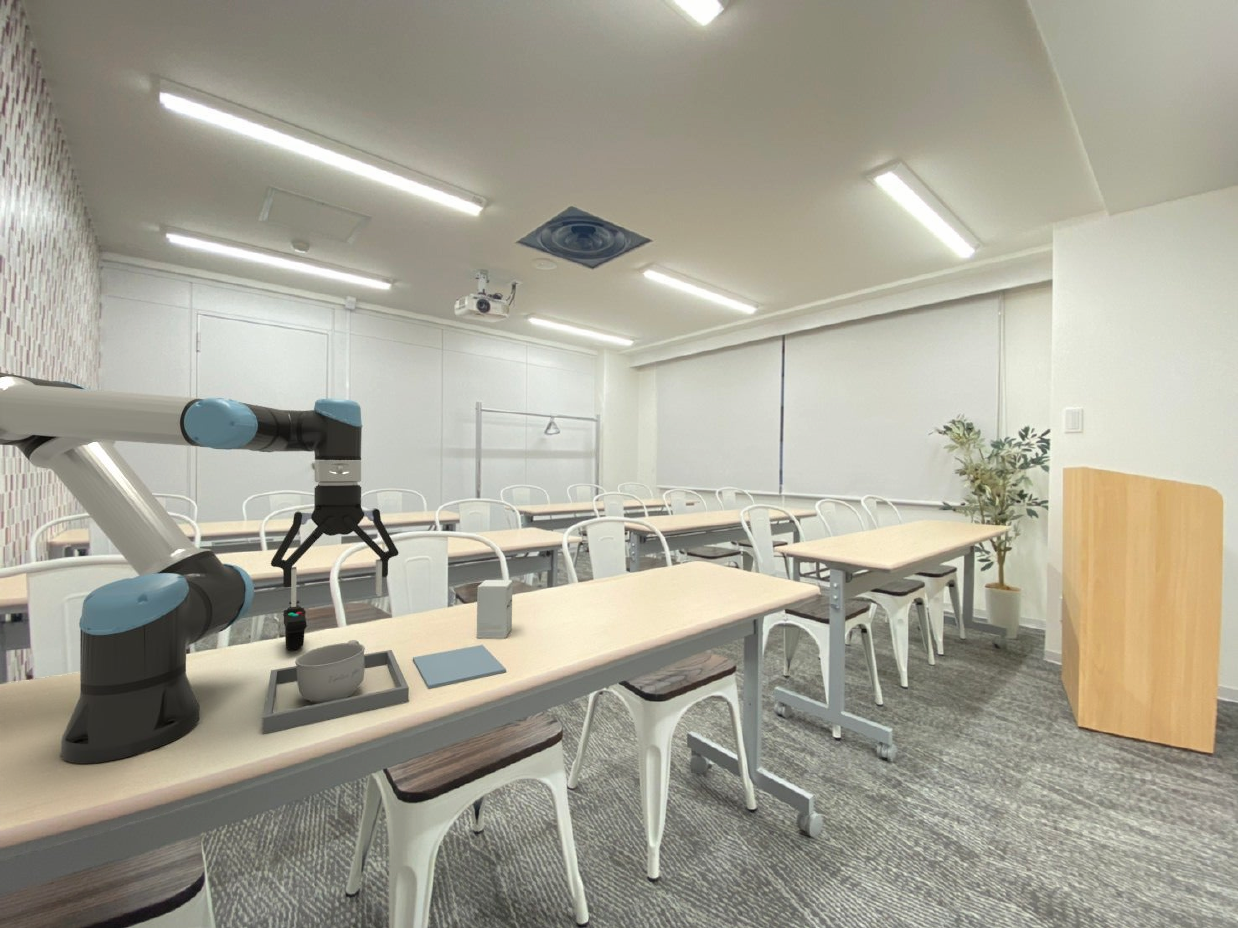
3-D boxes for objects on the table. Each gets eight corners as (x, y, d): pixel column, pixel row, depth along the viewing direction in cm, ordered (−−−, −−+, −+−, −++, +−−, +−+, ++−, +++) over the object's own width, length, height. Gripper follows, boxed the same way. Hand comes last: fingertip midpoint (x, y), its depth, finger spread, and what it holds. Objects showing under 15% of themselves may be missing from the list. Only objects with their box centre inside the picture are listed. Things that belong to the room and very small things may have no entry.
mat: (428, 688, 94) (428, 685, 94) (412, 660, 107) (412, 657, 107) (506, 672, 101) (506, 669, 101) (482, 647, 115) (482, 644, 115)
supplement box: (506, 638, 121) (507, 586, 121) (475, 638, 121) (476, 586, 121) (512, 628, 128) (513, 579, 129) (483, 628, 128) (484, 579, 128)
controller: (303, 639, 119) (304, 597, 119) (307, 655, 109) (308, 609, 109) (282, 643, 116) (282, 600, 116) (284, 660, 106) (284, 613, 106)
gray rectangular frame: (262, 734, 77) (263, 717, 77) (270, 683, 95) (270, 670, 95) (408, 701, 88) (408, 687, 88) (391, 661, 106) (391, 649, 106)
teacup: (334, 714, 84) (334, 666, 84) (279, 707, 86) (279, 660, 86) (388, 679, 98) (388, 638, 98) (339, 674, 100) (340, 634, 100)
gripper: (253, 486, 82) (252, 615, 82) (414, 483, 96) (414, 594, 96) (256, 484, 89) (255, 604, 89) (407, 482, 102) (406, 586, 102)
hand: (337, 599), depth 92 cm, fingers open, 13 cm apart
